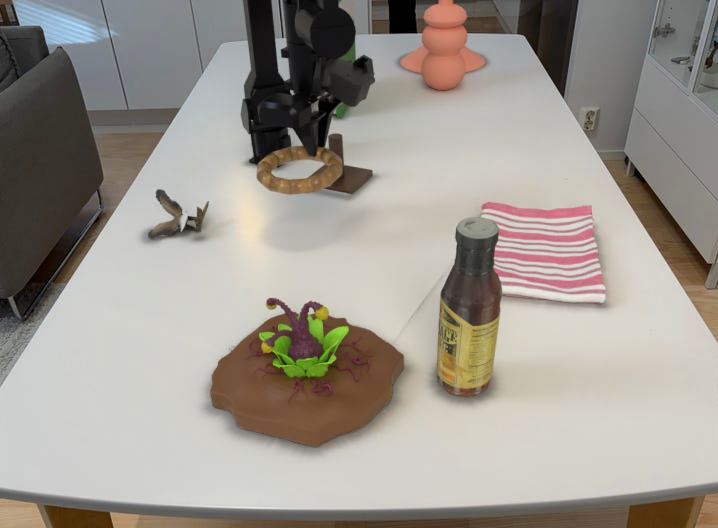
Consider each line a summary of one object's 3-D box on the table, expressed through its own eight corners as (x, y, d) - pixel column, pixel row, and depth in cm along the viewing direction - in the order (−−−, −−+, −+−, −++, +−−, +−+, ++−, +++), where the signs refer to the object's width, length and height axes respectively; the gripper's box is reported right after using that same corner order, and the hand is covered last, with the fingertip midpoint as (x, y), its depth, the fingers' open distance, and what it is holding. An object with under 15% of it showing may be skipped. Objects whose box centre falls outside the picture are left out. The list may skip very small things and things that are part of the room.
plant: (331, 471, 68) (322, 385, 61) (185, 403, 76) (163, 321, 69) (427, 360, 81) (429, 279, 74) (293, 313, 89) (284, 236, 82)
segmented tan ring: (241, 187, 96) (239, 174, 95) (286, 150, 104) (284, 138, 102) (316, 203, 92) (314, 190, 90) (357, 163, 99) (356, 150, 98)
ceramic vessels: (402, 49, 181) (402, -32, 169) (483, 49, 180) (488, -33, 168) (395, 94, 154) (394, 1, 142) (490, 93, 153) (497, 0, 141)
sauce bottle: (431, 366, 80) (437, 210, 67) (485, 361, 80) (500, 205, 68) (441, 404, 75) (449, 243, 62) (497, 399, 75) (517, 238, 63)
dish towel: (591, 222, 105) (595, 201, 103) (605, 309, 88) (610, 286, 86) (478, 216, 108) (480, 196, 106) (470, 299, 90) (472, 277, 88)
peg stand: (302, 188, 118) (298, 141, 113) (327, 168, 124) (324, 123, 119) (349, 197, 115) (346, 149, 110) (372, 176, 121) (371, 130, 116)
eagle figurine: (215, 214, 109) (161, 200, 110) (205, 190, 102) (147, 176, 103) (199, 256, 107) (144, 242, 107) (188, 236, 100) (129, 221, 101)
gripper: (327, 66, 81) (334, 189, 91) (393, 26, 94) (394, 138, 104) (248, 56, 85) (263, 175, 95) (322, 19, 98) (329, 127, 108)
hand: (316, 153), depth 100 cm, fingers closed on segmented tan ring, 2 cm apart
